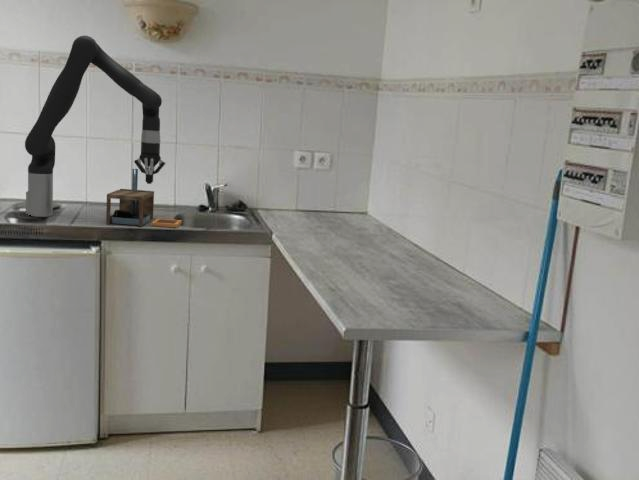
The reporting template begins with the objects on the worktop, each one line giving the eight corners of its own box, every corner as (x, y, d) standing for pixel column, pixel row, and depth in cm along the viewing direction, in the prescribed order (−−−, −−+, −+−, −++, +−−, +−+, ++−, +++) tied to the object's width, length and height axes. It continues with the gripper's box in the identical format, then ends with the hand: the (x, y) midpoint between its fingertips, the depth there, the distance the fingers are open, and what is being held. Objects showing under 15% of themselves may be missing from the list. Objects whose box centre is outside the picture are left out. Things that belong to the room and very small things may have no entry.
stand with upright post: (106, 222, 265) (107, 170, 262) (117, 216, 281) (118, 167, 277) (142, 225, 266) (143, 173, 262) (151, 219, 282) (152, 170, 278)
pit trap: (151, 226, 267) (151, 222, 267) (157, 221, 278) (157, 218, 278) (176, 228, 267) (176, 224, 267) (181, 223, 278) (181, 220, 278)
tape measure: (132, 222, 270) (133, 213, 270) (115, 220, 267) (116, 211, 267) (128, 219, 276) (129, 210, 276) (111, 217, 273) (113, 208, 273)
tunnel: (106, 224, 264) (106, 194, 261) (119, 216, 283) (120, 188, 281) (141, 227, 264) (142, 196, 262) (153, 219, 283) (154, 191, 281)
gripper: (132, 140, 271) (130, 183, 274) (164, 143, 271) (163, 185, 274) (136, 140, 278) (135, 181, 281) (168, 142, 278) (167, 183, 282)
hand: (149, 183), depth 278 cm, fingers closed
